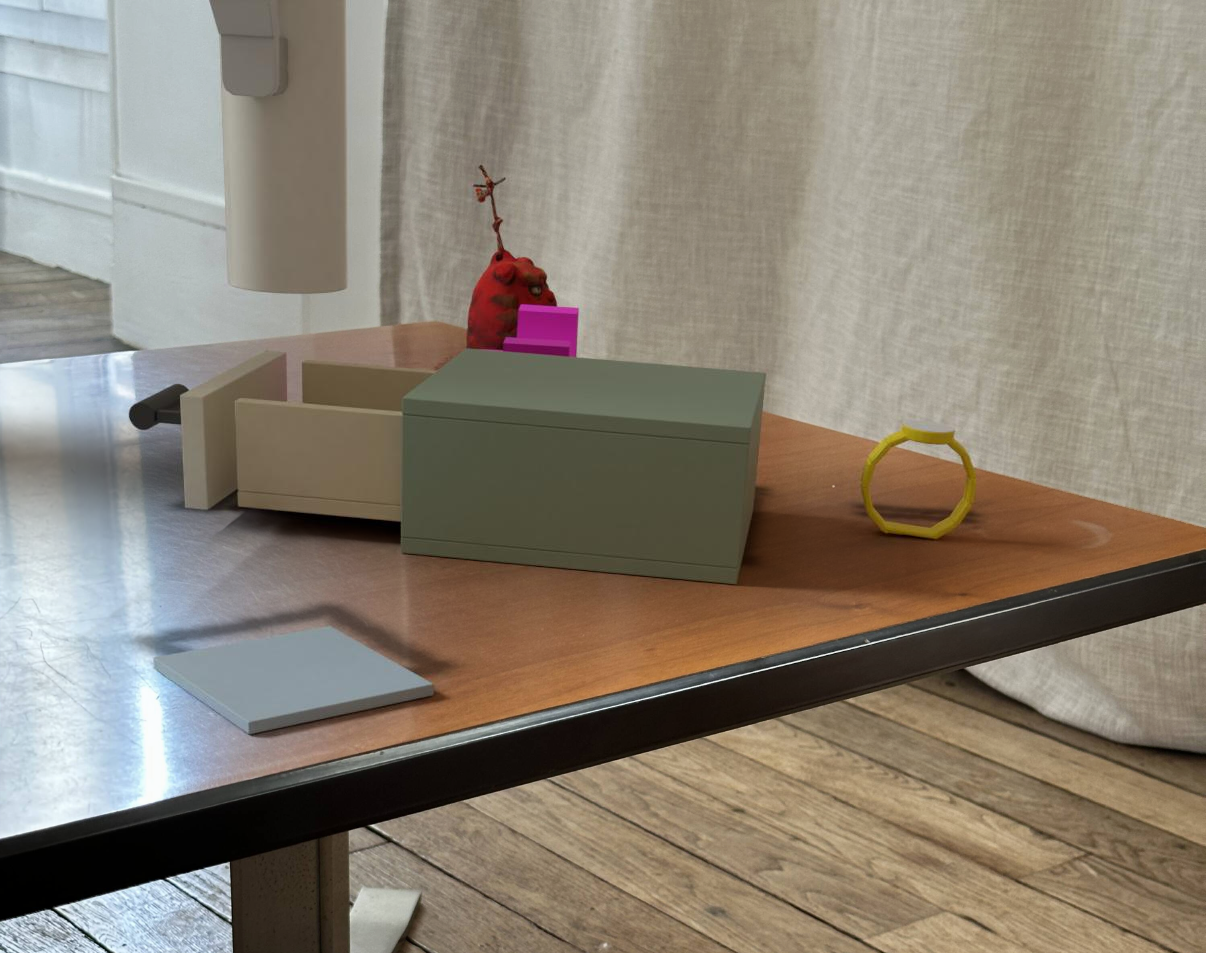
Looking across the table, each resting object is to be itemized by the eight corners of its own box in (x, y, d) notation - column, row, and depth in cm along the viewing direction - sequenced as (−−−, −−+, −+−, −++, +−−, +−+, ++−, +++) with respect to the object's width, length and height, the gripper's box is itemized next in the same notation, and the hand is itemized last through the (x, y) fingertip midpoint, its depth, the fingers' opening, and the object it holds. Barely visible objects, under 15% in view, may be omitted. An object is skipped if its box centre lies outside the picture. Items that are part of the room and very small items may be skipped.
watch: (857, 537, 91) (871, 426, 89) (853, 524, 94) (866, 416, 92) (969, 545, 91) (986, 434, 89) (962, 531, 94) (978, 423, 91)
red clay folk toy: (545, 399, 120) (554, 174, 114) (449, 390, 122) (453, 166, 115) (570, 381, 127) (580, 167, 121) (479, 372, 128) (485, 160, 122)
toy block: (479, 417, 114) (482, 301, 111) (573, 423, 114) (578, 307, 111) (456, 470, 100) (459, 340, 97) (563, 477, 100) (569, 347, 97)
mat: (248, 735, 62) (248, 722, 62) (153, 668, 68) (152, 656, 67) (434, 695, 67) (434, 683, 66) (330, 636, 72) (330, 625, 72)
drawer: (102, 504, 86) (94, 387, 83) (195, 447, 98) (191, 343, 95) (489, 539, 84) (492, 421, 81) (535, 477, 96) (540, 372, 94)
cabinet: (400, 552, 84) (401, 397, 81) (462, 483, 97) (465, 347, 94) (736, 584, 82) (751, 427, 79) (753, 510, 96) (766, 372, 92)
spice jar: (207, 288, 59) (191, -103, 54) (248, 273, 63) (237, -93, 58) (331, 298, 59) (326, -96, 54) (364, 282, 63) (363, -86, 58)
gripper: (276, -329, 62) (284, 82, 68) (30, -488, 44) (69, 95, 49) (445, -322, 62) (439, 92, 67) (269, -480, 43) (281, 109, 49)
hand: (281, 94), depth 58 cm, fingers closed on spice jar, 4 cm apart
